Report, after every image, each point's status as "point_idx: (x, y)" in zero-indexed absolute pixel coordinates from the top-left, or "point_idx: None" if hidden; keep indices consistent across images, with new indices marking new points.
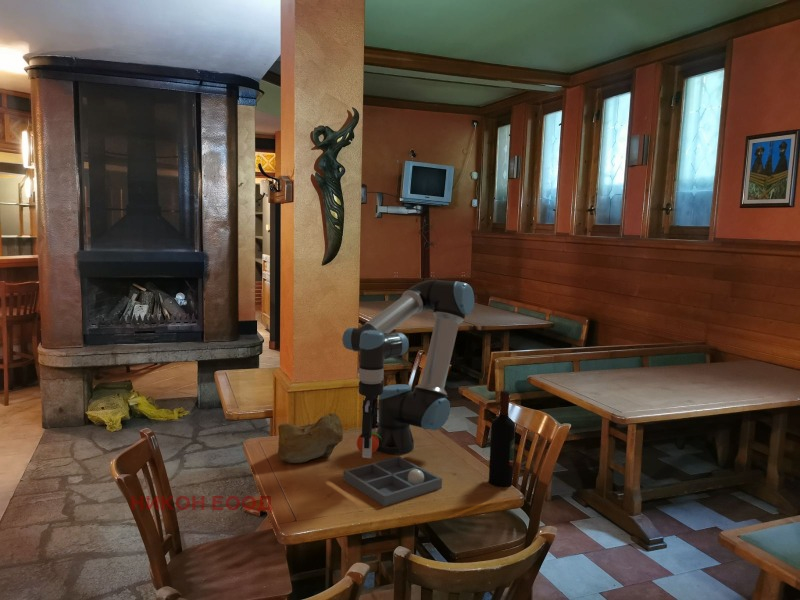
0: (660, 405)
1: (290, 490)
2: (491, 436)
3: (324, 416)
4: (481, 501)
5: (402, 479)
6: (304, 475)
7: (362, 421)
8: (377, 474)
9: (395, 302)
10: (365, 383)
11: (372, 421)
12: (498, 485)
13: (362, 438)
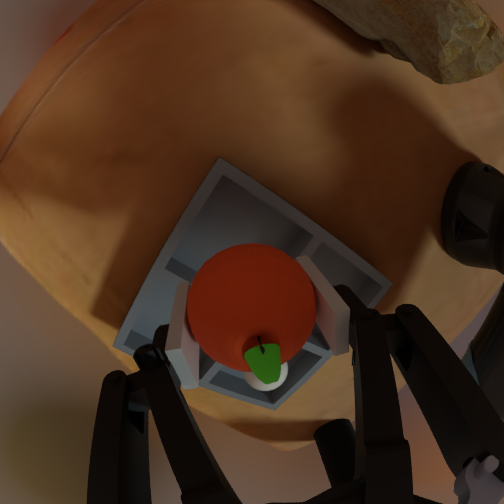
0: None
1: (111, 44)
2: None
3: (468, 1)
4: (251, 434)
5: None
6: (227, 23)
7: (90, 463)
8: (288, 251)
9: None
10: None
11: (356, 376)
12: (314, 435)
13: (202, 320)
